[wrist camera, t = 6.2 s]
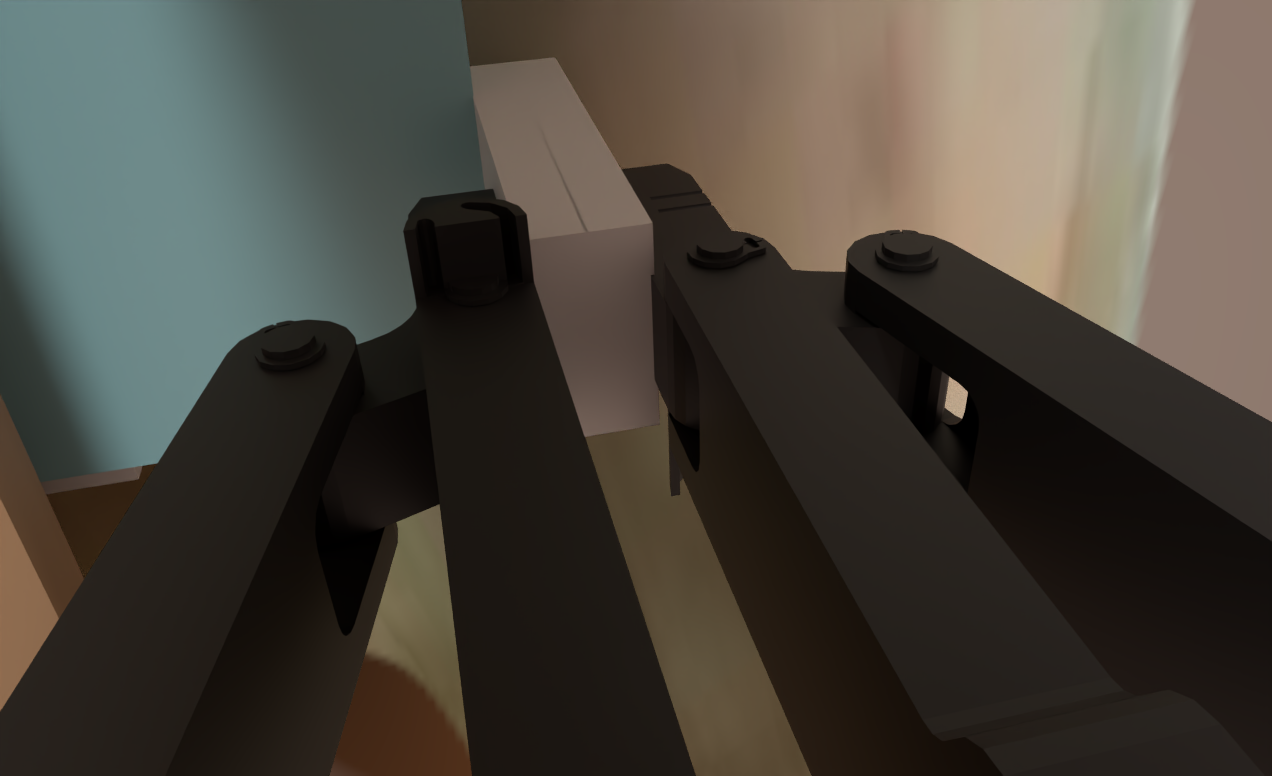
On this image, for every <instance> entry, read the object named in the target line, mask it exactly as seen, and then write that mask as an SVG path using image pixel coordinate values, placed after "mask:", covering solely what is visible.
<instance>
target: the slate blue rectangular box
mask: <svg viewBox="0 0 1272 776" xmlns="http://www.w3.org/2000/svg"><path fill="white" fill-rule="evenodd" d="M473 96H474V95H473V87H472V79H471V72H470V64H469V56H468V48H467V40H466V32H465V25H464V17H463V9H462V1H461V0H0V394H1V396H2V399H3V401H4V403H5V405H6V407H7V410H8V412H9V414H10V416H11V418H12V421H13V423H14V425H15V427H16V429H17V432H18V434H19V436H20V438H21V441H22V443H23V445H24V447H25V449H26V452H27V454H28V456H29V458H30V460H31V463H32V465H33V467H34V469H35V471H36V474H37V476H38V478H39V480H40V482H45V481H51V480H58V479H64V478H70V477H76V476H82V475H88V474H95V473H101V472H107V471H113V470H119V469H125V468H132V467H138V466H144V465H150V464H156V463H158V462H159V460H160V458H161V457H162V455H163V454H164V452H165V451H166V449H167V447H168V446H169V444H170V443H171V441H172V439H173V438H174V436H175V435H176V433H177V432H178V430H179V428H180V427H181V425H182V424H183V422H184V421H185V419H186V417H187V416H188V414H189V413H190V411H191V409H192V408H193V406H194V405H195V403H196V402H197V400H198V398H199V397H200V395H201V394H202V392H203V391H204V389H205V387H206V386H207V384H208V383H209V381H210V379H211V378H212V376H213V375H214V373H215V372H216V370H217V368H218V367H219V365H220V364H221V362H222V361H223V359H224V357H225V356H226V354H227V353H228V352H229V351H230V350H231V349H232V348H233V347H234V346H235V345H236V344H237V343H238V342H239V341H240V340H242V339H244V338H246V337H247V336H249V335H251V334H253V333H255V332H257V331H258V330H260V329H261V328H263V327H266V326H269V325H272V324H273V325H276V323H279V322H283V321H288V320H292V321H299V320H307V319H309V320H322V321H331V322H334V323H336V324H339V325H342V326H344V327H347V328H348V330H349V331H350V332H351V333H352V334H353V335H354V336H355V339H356V343H357V344H360V343H363V342H366V341H369V340H372V339H374V338H377V337H379V336H382V335H384V334H387V333H389V332H391V331H392V330H394V329H396V328H397V327H399V326H401V325H402V324H403V323H404V322H405V321H407V320H408V319H409V318H410V317H411V316H412V314H413V313H414V311H415V309H416V300H415V294H414V289H413V283H412V278H411V272H410V267H409V261H408V256H407V250H406V245H405V239H404V233H403V230H404V227H405V224H406V221H407V220H408V214H409V213H410V212H411V210H412V209H413V208H414V206H415V205H416V204H417V203H418V201H419V200H420V199H421V198H423V197H431V196H439V195H447V194H454V193H462V192H470V191H478V190H485V186H484V178H483V171H482V163H481V155H480V147H479V140H478V132H477V124H476V117H475V109H474V101H473Z"/></svg>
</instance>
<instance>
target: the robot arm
mask: <svg viewBox="0 0 1272 776" xmlns="http://www.w3.org/2000/svg"><path fill="white" fill-rule="evenodd" d="M470 72H471V79H472V87H473V95H474V96H473V101H474V109H475V117H476V124H477V132H478V140H479V147H480V155H481V163H482V171H483V178H484V186H485V190H478V191H470V192H462V193H454V194H447V195H439V196H431V197H423V198H421V199H420V200H419V201H418V203H417V204H416V205H415V206H414V208H413V209H412V210H411V212H410V213H409V214H408V220H407V221H406V224H405V227H404V230H403V233H404V239H405V245H406V250H407V256H408V261H409V267H410V272H411V278H412V283H413V289H414V294H415V300H416V309H415V311H414V313H413V314H412V316H411V317H410V318H409V319H408V320H407V321H405V322H404V323H403V324H402V325H401V326H399V327H397V328H396V329H394V330H392V331H391V332H389V333H387V334H384V335H382V336H379V337H377V338H374V339H372V340H369V341H366V342H363V343H360V344H357V343H356V339H355V336H354V335H353V334H352V333H351V332H350V331H349V330H348V328H347V327H344V326H342V325H339V324H336V323H334V322H331V321H322V320H309V319H307V320H299V321H292V320H288V321H283V322H279V323H276V325H273V324H272V325H269V326H266V327H263V328H261V329H260V330H258V331H257V332H255V333H253V334H251V335H249V336H247V337H246V338H244V339H242V340H240V341H239V342H238V343H237V344H236V345H235V346H234V347H233V348H232V349H231V350H230V351H229V352H228V353H227V354H226V356H225V357H224V359H223V361H222V362H221V364H220V365H219V367H218V368H217V370H216V372H215V373H214V375H213V376H212V378H211V379H210V381H209V383H208V384H207V386H206V387H205V389H204V391H203V392H202V394H201V395H200V397H199V398H198V400H197V402H196V403H195V405H194V406H193V408H192V409H191V411H190V413H189V414H188V416H187V417H186V419H185V421H184V422H183V424H182V425H181V427H180V428H179V430H178V432H177V433H176V435H175V436H174V438H173V439H172V441H171V443H170V444H169V446H168V447H167V449H166V451H165V452H164V454H163V455H162V457H161V458H160V460H159V462H158V463H157V465H156V466H155V468H154V469H153V471H152V473H151V474H150V476H149V477H148V479H147V481H146V482H145V484H144V485H143V487H142V488H141V490H140V492H139V493H138V495H137V496H136V498H135V499H134V501H133V503H132V504H131V506H130V507H129V509H128V511H127V512H126V514H125V515H124V517H123V518H122V520H121V522H120V523H119V525H118V526H117V528H116V529H115V531H114V533H113V534H112V536H111V537H110V539H109V541H108V542H107V544H106V545H105V547H104V548H103V550H102V552H101V553H100V555H99V556H98V558H97V559H96V561H95V563H94V564H93V566H92V567H91V569H90V571H89V572H88V574H87V575H86V577H85V578H84V580H83V582H82V583H81V585H80V586H79V588H78V589H77V591H76V593H75V594H74V596H73V597H72V599H71V601H70V602H69V604H68V605H67V607H66V608H65V610H64V612H63V613H62V615H61V616H60V618H59V619H58V621H57V623H56V624H55V626H54V627H53V629H52V631H51V632H50V634H49V635H48V637H47V638H46V640H45V642H44V643H43V645H42V646H41V648H40V649H39V651H38V653H37V654H36V656H35V657H34V659H33V661H32V662H31V664H30V665H29V667H28V668H27V670H26V672H25V673H24V675H23V676H22V678H21V679H20V681H19V683H18V684H17V686H16V687H15V689H14V691H13V692H12V694H11V695H10V697H9V698H8V700H7V702H6V703H5V705H4V706H3V708H2V709H1V711H0V776H329V775H330V772H331V768H332V765H333V762H334V758H335V755H336V751H337V748H338V745H339V741H340V738H341V734H342V731H343V727H344V724H345V721H346V717H347V714H348V710H349V707H350V704H351V700H352V697H353V693H354V690H355V687H356V683H357V680H358V676H359V673H360V670H361V666H362V663H363V659H364V656H365V652H366V649H367V646H368V642H369V639H370V635H371V632H372V629H373V625H374V622H375V618H376V615H377V612H378V608H379V605H380V601H381V598H382V595H383V591H384V588H385V584H386V581H387V577H388V574H389V571H390V567H391V564H392V560H393V557H394V554H395V550H396V547H397V543H398V527H397V523H396V522H397V521H400V520H402V519H405V518H407V517H410V516H412V515H414V514H417V513H419V512H422V511H424V510H426V509H429V508H431V507H434V506H436V505H438V504H440V510H441V519H442V527H443V535H444V544H445V552H446V561H447V569H448V577H449V586H450V594H451V603H452V611H453V619H454V628H455V636H456V645H457V653H458V661H459V670H460V678H461V687H462V695H463V703H464V712H465V720H466V729H467V737H468V745H469V754H470V761H471V770H472V776H696V775H695V772H694V769H693V766H692V763H691V760H690V757H689V754H688V751H687V747H686V744H685V741H684V738H683V735H682V732H681V729H680V726H679V723H678V720H677V717H676V714H675V711H674V708H673V705H672V702H671V699H670V696H669V693H668V689H667V686H666V683H665V680H664V677H663V674H662V671H661V668H660V665H659V662H658V659H657V656H656V653H655V650H654V647H653V644H652V641H651V638H650V635H649V631H648V628H647V625H646V622H645V619H644V616H643V613H642V610H641V607H640V604H639V601H638V598H637V595H636V592H635V589H634V586H633V583H632V580H631V577H630V573H629V570H628V567H627V564H626V561H625V558H624V555H623V552H622V549H621V546H620V543H619V540H618V537H617V534H616V531H615V528H614V525H613V522H612V519H611V515H610V512H609V509H608V506H607V503H606V500H605V497H604V494H603V491H602V488H601V485H600V482H599V479H598V476H597V473H596V470H595V467H594V464H593V460H592V457H591V454H590V451H589V448H588V445H587V442H586V439H585V437H588V436H594V435H600V434H606V433H612V432H618V431H624V430H630V429H635V428H641V427H647V426H653V425H659V424H660V421H659V392H658V388H659V390H660V393H661V395H662V397H663V399H664V401H665V404H666V406H667V408H668V430H669V466H670V489H671V496H675V495H680V481H681V480H682V479H684V481H685V483H686V486H687V488H688V490H689V493H690V495H691V497H692V499H693V502H694V504H695V506H696V509H697V511H698V513H699V516H700V518H701V520H702V523H703V525H704V527H705V530H706V532H707V534H708V537H709V539H710V541H711V544H712V546H713V548H714V550H715V553H716V555H717V557H718V560H719V562H720V564H721V567H722V569H723V571H724V574H725V576H726V578H727V581H728V583H729V585H730V588H731V590H732V592H733V594H734V597H735V599H736V601H737V604H738V606H739V608H740V611H741V613H742V615H743V618H744V620H745V622H746V625H747V627H748V629H749V632H750V634H751V636H752V639H753V641H754V643H755V645H756V648H757V650H758V652H759V655H760V657H761V659H762V662H763V664H764V666H765V669H766V671H767V673H768V676H769V678H770V680H771V683H772V685H773V687H774V690H775V692H776V694H777V696H778V699H779V701H780V703H781V706H782V708H783V710H784V713H785V715H786V717H787V720H788V722H789V724H790V727H791V729H792V731H793V734H794V736H795V738H796V741H797V743H798V745H799V747H800V750H801V752H802V754H803V757H804V759H805V761H806V764H807V766H808V768H809V771H810V773H811V775H812V776H1272V422H1271V421H1269V420H1267V419H1265V418H1263V417H1262V416H1260V415H1258V414H1256V413H1254V412H1253V411H1251V410H1249V409H1247V408H1245V407H1244V406H1242V405H1240V404H1238V403H1236V402H1235V401H1233V400H1231V399H1229V398H1228V397H1226V396H1224V395H1222V394H1220V393H1218V392H1217V391H1215V390H1213V389H1211V388H1210V387H1208V386H1206V385H1204V384H1202V383H1201V382H1199V381H1197V380H1195V379H1193V378H1192V377H1190V376H1188V375H1186V374H1184V373H1183V372H1181V371H1179V370H1177V369H1176V368H1174V367H1172V366H1170V365H1168V364H1167V363H1165V362H1163V361H1161V360H1160V359H1158V358H1156V357H1154V356H1152V355H1151V354H1149V353H1147V352H1145V351H1143V350H1142V349H1140V348H1138V347H1136V346H1135V345H1133V344H1131V343H1129V342H1127V341H1126V340H1124V339H1122V338H1120V337H1118V336H1117V335H1115V334H1113V333H1111V332H1109V331H1108V330H1106V329H1104V328H1102V327H1101V326H1099V325H1097V324H1095V323H1093V322H1092V321H1090V320H1088V319H1086V318H1084V317H1083V316H1081V315H1079V314H1077V313H1075V312H1074V311H1072V310H1070V309H1068V308H1067V307H1065V306H1063V305H1061V304H1059V303H1058V302H1056V301H1054V300H1052V299H1050V298H1049V297H1047V296H1045V295H1043V294H1041V293H1040V292H1038V291H1036V290H1034V289H1033V288H1031V287H1029V286H1027V285H1025V284H1024V283H1022V282H1020V281H1018V280H1016V279H1015V278H1013V277H1011V276H1009V275H1007V274H1006V273H1004V272H1002V271H1000V270H999V269H997V268H995V267H993V266H991V265H990V264H988V263H986V262H984V261H982V260H981V259H979V258H977V257H975V256H973V255H972V254H970V253H968V252H966V251H965V250H963V249H961V248H959V247H957V246H956V245H954V244H952V243H950V242H947V241H945V240H942V239H940V238H937V237H935V236H930V235H925V234H919V233H918V232H916V231H910V230H902V232H900V230H891V231H886V232H885V233H880V234H874V235H869V236H867V237H864V238H862V239H860V240H858V241H855V242H854V243H853V244H852V246H851V247H850V248H849V249H848V250H847V258H846V271H845V272H821V271H801V270H792V269H791V268H790V266H789V265H788V264H787V263H786V261H785V260H784V259H783V257H782V256H781V255H780V254H779V252H778V251H777V250H776V248H775V247H774V246H772V245H771V244H770V243H768V242H767V241H766V240H765V239H763V238H760V237H757V236H755V235H751V234H749V233H745V232H737V231H731V229H730V228H729V227H728V225H727V224H726V222H725V221H724V220H723V218H722V217H721V216H720V214H719V213H718V212H717V210H716V209H715V207H714V206H711V202H710V201H709V199H708V198H707V196H706V195H705V194H704V193H702V190H701V188H700V187H699V185H698V184H697V183H696V181H695V180H694V179H693V177H692V176H691V175H690V174H688V173H685V172H683V171H681V170H679V169H677V168H675V167H673V166H671V165H669V164H660V165H653V166H645V167H637V168H629V169H621V168H620V167H619V165H618V163H617V161H616V160H615V158H614V156H613V155H612V153H611V151H610V150H609V148H608V146H607V144H606V143H605V141H604V139H603V138H602V136H601V134H600V133H599V131H598V129H597V127H596V126H595V124H594V122H593V121H592V119H591V117H590V116H589V114H588V112H587V110H586V109H585V107H584V105H583V104H582V102H581V100H580V99H579V97H578V95H577V93H576V92H575V90H574V88H573V87H572V85H571V83H570V82H569V80H568V78H567V76H566V75H565V73H564V71H563V70H562V68H561V66H560V65H559V63H558V61H557V59H556V58H555V57H553V58H543V59H534V60H525V61H515V62H506V63H497V64H488V65H478V66H470ZM949 376H950V377H951V378H952V379H954V380H955V381H957V382H958V383H959V384H960V385H962V386H963V387H964V388H965V389H966V390H967V391H968V396H967V402H966V408H965V413H964V416H963V418H962V419H961V418H959V417H957V416H955V415H954V414H952V413H951V412H950V411H948V410H947V409H946V408H944V407H945V401H946V394H947V388H948V381H949Z"/></svg>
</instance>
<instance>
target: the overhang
mask: <svg viewBox="0 0 1272 776" xmlns="http://www.w3.org/2000/svg"><path fill="white" fill-rule="evenodd" d="M141 470H142V466H138V467H132V468H125V469H119V470H113V471H107V472H101V473H95V474H88V475H82V476H76V477H70V478H64V479H58V480H51V481H45V482H40V480H39V478H38V476H37V474H36V471H35V469H34V467H33V465H32V463H31V460H30V458H29V456H28V454H27V452H26V449H25V447H24V445H23V443H22V441H21V438H20V436H19V434H18V432H17V429H16V427H15V425H14V423H13V421H12V418H11V416H10V414H9V412H8V410H7V407H6V405H5V403H4V401H3V399H2V396H1V394H0V711H1V709H2V708H3V706H4V705H5V703H6V702H7V700H8V698H9V697H10V695H11V694H12V692H13V691H14V689H15V687H16V686H17V684H18V683H19V681H20V679H21V678H22V676H23V675H24V673H25V672H26V670H27V668H28V667H29V665H30V664H31V662H32V661H33V659H34V657H35V656H36V654H37V653H38V651H39V649H40V648H41V646H42V645H43V643H44V642H45V640H46V638H47V637H48V635H49V634H50V632H51V631H52V629H53V627H54V626H55V624H56V623H57V621H58V619H59V618H60V616H61V615H62V613H63V612H64V610H65V608H66V607H67V605H68V604H69V602H70V601H71V599H72V597H73V596H74V594H75V593H76V591H77V589H78V588H79V586H80V585H81V583H82V582H83V580H84V577H83V575H82V573H81V571H80V568H79V566H78V564H77V562H76V560H75V557H74V555H73V553H72V551H71V549H70V546H69V544H68V542H67V540H66V537H65V535H64V533H63V531H62V529H61V526H60V524H59V522H58V520H57V518H56V515H55V513H54V511H53V509H52V507H51V504H50V502H49V500H48V498H47V496H46V494H52V493H58V492H64V491H70V490H76V489H82V488H89V487H95V486H101V485H107V484H113V483H120V482H126V481H132V480H138V479H139V477H140V473H141Z"/></svg>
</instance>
